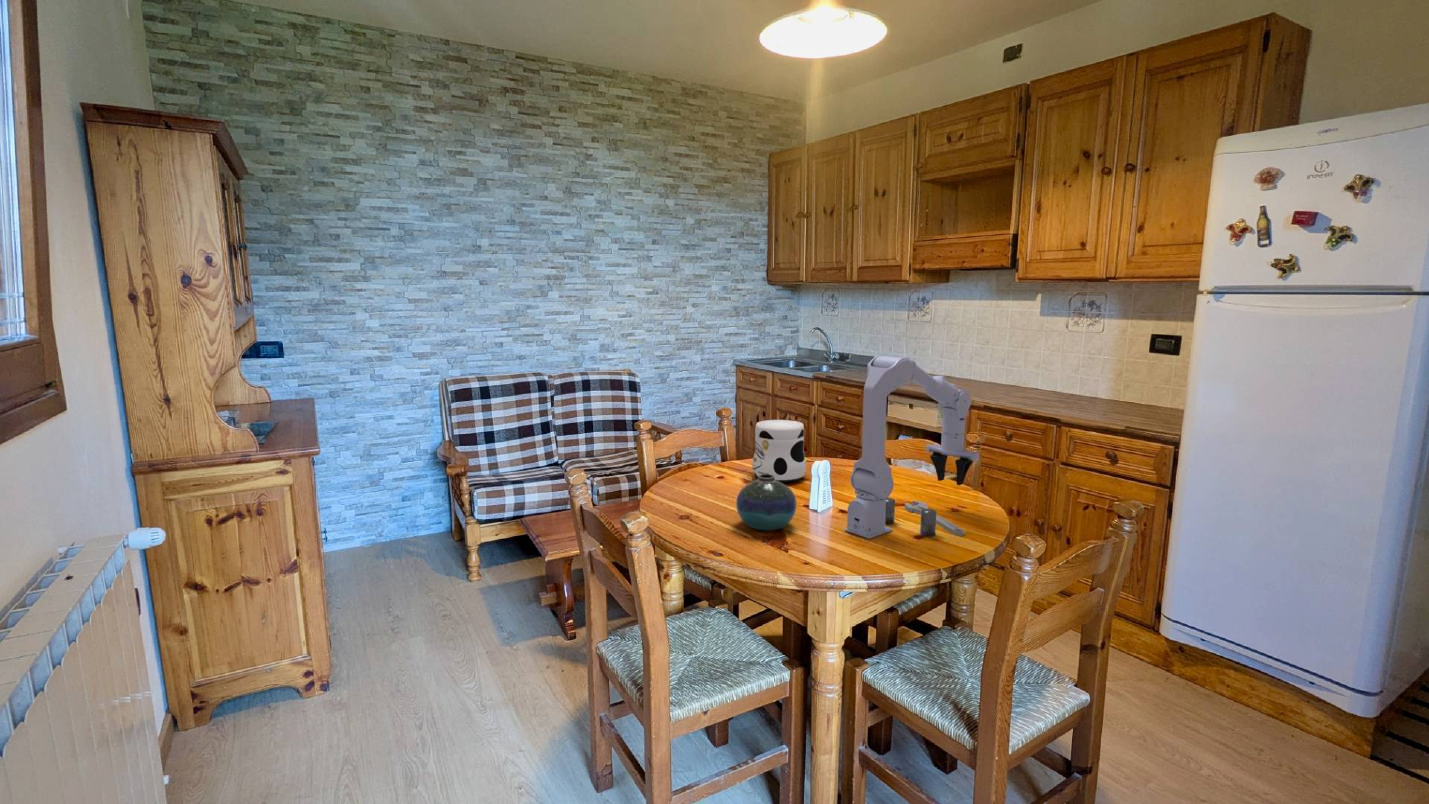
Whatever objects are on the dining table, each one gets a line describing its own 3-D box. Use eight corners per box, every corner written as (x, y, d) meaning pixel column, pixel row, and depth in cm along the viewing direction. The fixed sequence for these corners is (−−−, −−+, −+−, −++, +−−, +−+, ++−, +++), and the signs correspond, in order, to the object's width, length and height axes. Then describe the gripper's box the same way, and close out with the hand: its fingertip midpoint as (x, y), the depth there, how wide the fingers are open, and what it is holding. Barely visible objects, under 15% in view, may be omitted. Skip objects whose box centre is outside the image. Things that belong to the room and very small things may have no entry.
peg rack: (929, 537, 163) (931, 514, 162) (877, 521, 175) (878, 499, 174) (938, 534, 165) (939, 511, 164) (885, 518, 177) (886, 496, 176)
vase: (803, 535, 165) (804, 482, 163) (742, 538, 163) (743, 485, 161) (787, 515, 180) (787, 467, 178) (730, 518, 178) (731, 469, 176)
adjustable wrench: (966, 537, 165) (966, 530, 164) (941, 539, 164) (942, 532, 163) (921, 505, 189) (921, 499, 189) (899, 507, 188) (900, 501, 188)
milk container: (741, 478, 217) (741, 423, 214) (776, 469, 228) (777, 417, 226) (781, 489, 204) (782, 431, 202) (816, 479, 216) (818, 424, 213)
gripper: (986, 435, 176) (983, 485, 178) (937, 427, 187) (934, 474, 189) (972, 439, 172) (969, 490, 174) (922, 430, 183) (920, 478, 185)
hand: (950, 482), depth 181 cm, fingers open, 5 cm apart
